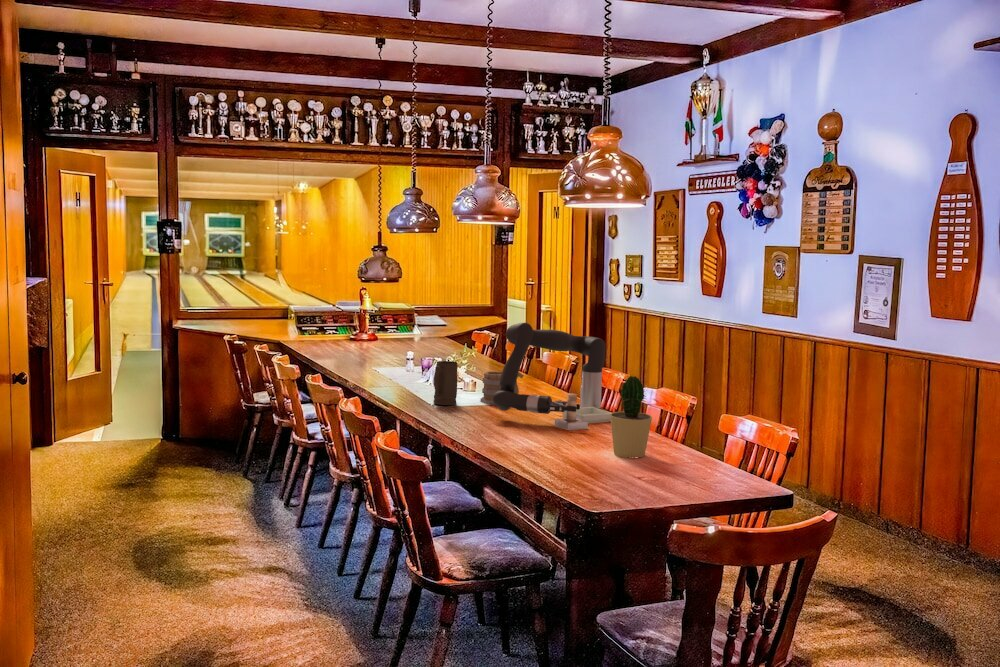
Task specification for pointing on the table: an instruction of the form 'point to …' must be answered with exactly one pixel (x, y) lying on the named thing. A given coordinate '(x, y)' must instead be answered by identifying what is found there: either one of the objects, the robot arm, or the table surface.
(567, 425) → the peg holder
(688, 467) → the table surface
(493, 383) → the tankard
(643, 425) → the potted cactus
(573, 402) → the maple peg
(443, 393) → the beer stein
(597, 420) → the sage tray
